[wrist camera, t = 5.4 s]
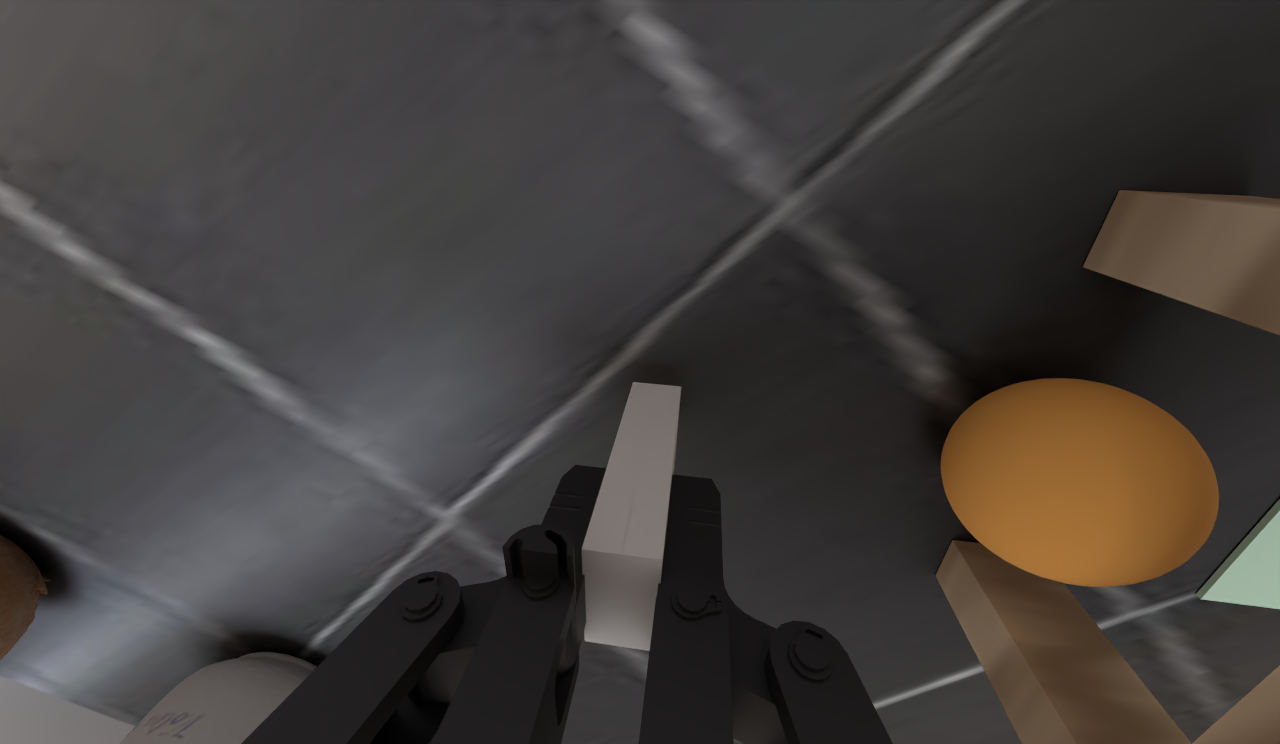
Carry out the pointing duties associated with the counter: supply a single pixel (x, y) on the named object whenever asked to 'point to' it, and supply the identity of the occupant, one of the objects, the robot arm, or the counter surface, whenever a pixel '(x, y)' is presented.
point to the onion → (17, 593)
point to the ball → (1079, 482)
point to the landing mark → (1250, 568)
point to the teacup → (222, 701)
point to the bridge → (1045, 609)
